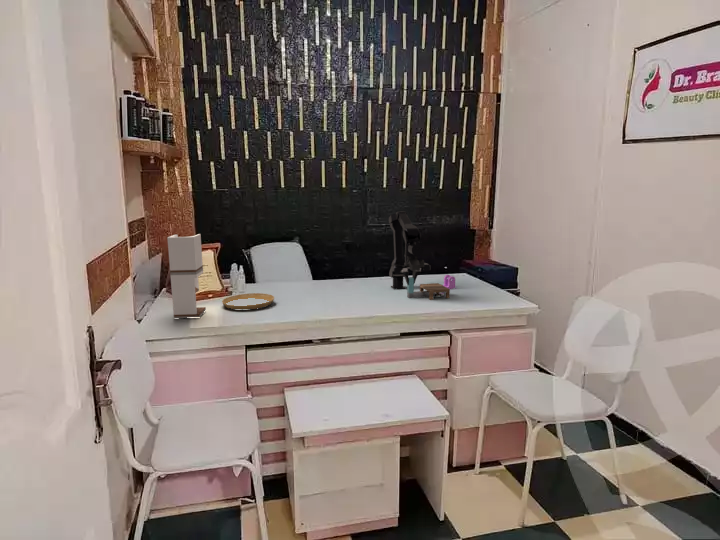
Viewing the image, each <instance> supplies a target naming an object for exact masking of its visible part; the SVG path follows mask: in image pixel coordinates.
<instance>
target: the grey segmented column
mask: <svg viewBox="0 0 720 540" xmlns="http://www.w3.org/2000/svg"><path fill="white" fill-rule="evenodd" d="M166 240H167V248H168V262H169V274H170V284H171V285H170V286H171V296H172V297H171V298H172V300H171V301H172V310H173V319H174V318H187V317H200V316H201V315H202V314H203V313H204V311H205V310H206V306H205V307H197V295H196V294H197V293H198V292H199V291H200V288H199V287H200V285H199V284H200V283H199V276H201V275H202V274H203V273H204V266H203V263H204V262H203V253H202V252H203V251H202V249H203V248H202V237H201V233H198V234H196V235H191V236H179V234H173V235H170V236H167V239H166ZM204 314H205V313H204ZM204 314H203V315H204ZM203 315H202V316H203Z"/></svg>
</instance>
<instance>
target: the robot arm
mask: <svg viewBox="0 0 720 540" xmlns="http://www.w3.org/2000/svg"><path fill="white" fill-rule="evenodd" d="M388 223H389V227H390V229H391V230H392V233H393V252H394V254H393V256H394V257H393V260H392V262H391V266H390V269H389V273H388V275H389V277H390V278H392V285H390V288H391V289H393V290H402V289H403V290H404V289H406V286H407V285H408V284H409V279H408V277H409V272H410V271H411V272H412V276H411V277H413V278H414V284H415V283H416V280H417V277H418V276H419V274H420V273H422V269H423V271H432V270H431V265H430V264H429V263H426V262H425V260H424V259H418V258H419V257H420V256H422V255H423V253H424V247H423V245H422V244H420V243H422V238H423V237H422V234H421V232H420V229H419V228H418V227H417V226H416V225H414V224H412V222H411V220H410V218H409V216H408V214H407V211H405V210H403V211H397V212H395V213H393V214H391V215H389V217H388ZM403 240H404V246H405V247H404V248H405V249H404V248H403ZM403 250H404V251H403ZM409 270H410V271H409ZM404 280H405V283H406V284H407V285H406V286H404Z"/></svg>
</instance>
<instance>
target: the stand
mask: <svg viewBox="0 0 720 540" xmlns="http://www.w3.org/2000/svg"><path fill="white" fill-rule="evenodd" d="M443 285H444V284H440V282H437V283H436V282H435V283H434V282H433V283H432V282H431V283H421V284H420V283H419V291H428V292H429V297H428V300H430V301H433V300H434V297H433V293H436V292H440V293H445V299H446V298H450V297H451V296H450V294H451V293H450V292H451V289H448V288H446V287H445V286H443Z"/></svg>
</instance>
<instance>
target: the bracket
mask: <svg viewBox="0 0 720 540" xmlns="http://www.w3.org/2000/svg"><path fill="white" fill-rule="evenodd" d="M442 285H443V286H445V287H446V288H448V289H450V290H454V289H453V288H455V289H456V277H455V276H452V275H449V274H445V275H444V277H443V284H442Z"/></svg>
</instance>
